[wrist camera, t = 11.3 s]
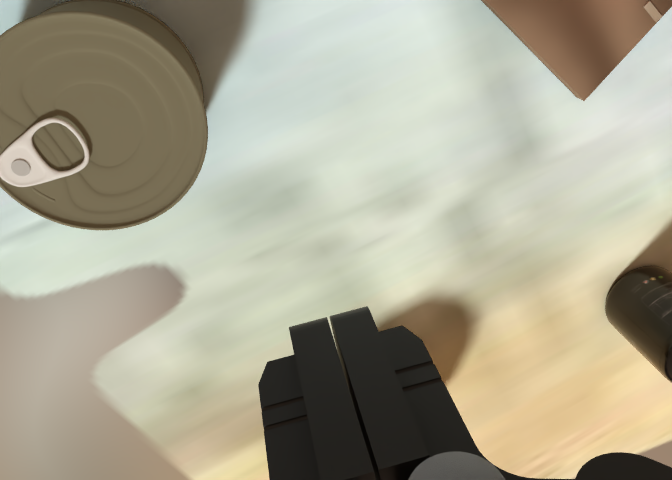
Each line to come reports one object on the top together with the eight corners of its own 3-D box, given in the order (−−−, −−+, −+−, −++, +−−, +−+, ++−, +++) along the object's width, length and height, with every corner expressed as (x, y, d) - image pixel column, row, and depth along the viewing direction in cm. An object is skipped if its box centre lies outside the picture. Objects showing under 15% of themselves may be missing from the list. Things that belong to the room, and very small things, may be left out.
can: (240, 133, 41) (246, 171, 35) (84, 213, 42) (65, 264, 36) (138, -44, 35) (125, -34, 29) (-42, 52, 36) (-91, 81, 30)
